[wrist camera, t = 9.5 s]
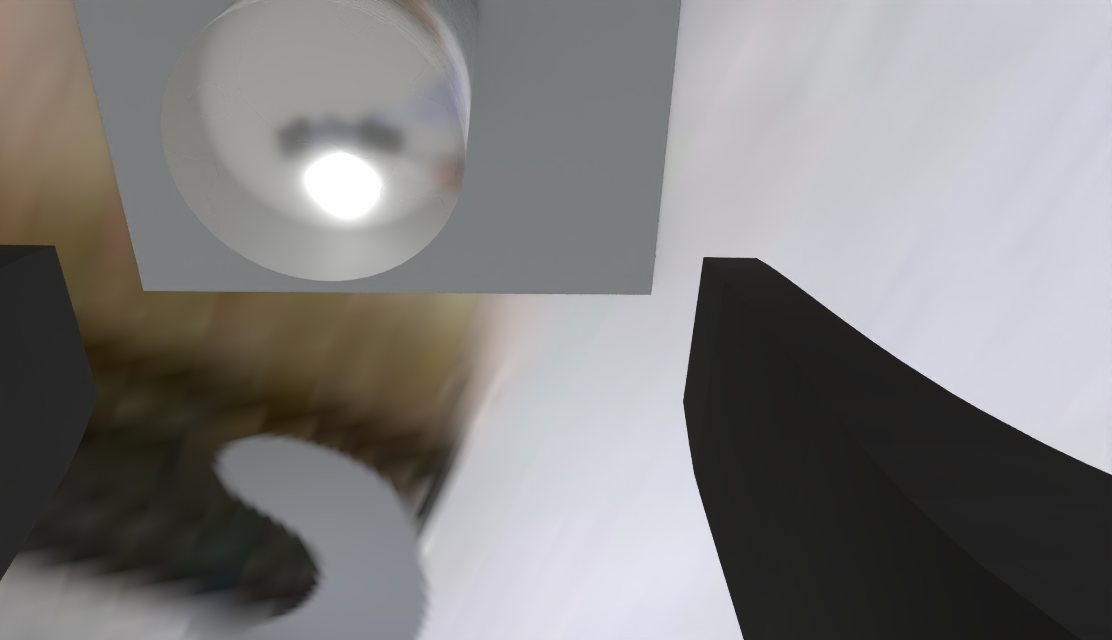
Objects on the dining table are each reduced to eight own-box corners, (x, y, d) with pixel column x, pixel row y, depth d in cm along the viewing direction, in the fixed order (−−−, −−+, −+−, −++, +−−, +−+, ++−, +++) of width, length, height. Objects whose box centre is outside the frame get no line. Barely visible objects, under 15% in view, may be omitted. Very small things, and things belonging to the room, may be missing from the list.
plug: (487, -71, 17) (479, 21, 11) (468, 129, 19) (451, 294, 13) (273, -102, 17) (146, -25, 11) (277, 105, 19) (173, 265, 13)
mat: (707, -311, 16) (712, -313, 15) (648, 284, 22) (651, 294, 22) (3, -340, 15) (-12, -344, 15) (150, 280, 21) (143, 290, 21)
